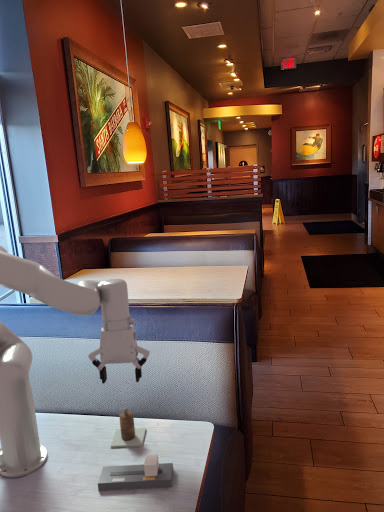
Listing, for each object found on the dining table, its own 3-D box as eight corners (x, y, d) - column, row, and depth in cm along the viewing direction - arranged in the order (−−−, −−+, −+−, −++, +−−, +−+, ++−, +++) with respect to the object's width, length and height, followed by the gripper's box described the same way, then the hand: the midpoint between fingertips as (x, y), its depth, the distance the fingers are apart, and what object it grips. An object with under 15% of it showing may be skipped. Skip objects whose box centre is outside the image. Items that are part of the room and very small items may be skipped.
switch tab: (145, 476, 99) (143, 465, 99) (147, 465, 103) (146, 454, 103) (157, 475, 99) (156, 464, 99) (158, 464, 103) (157, 454, 102)
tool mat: (110, 447, 115) (110, 446, 115) (116, 431, 123) (116, 429, 123) (142, 446, 115) (142, 444, 115) (145, 429, 123) (145, 427, 123)
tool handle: (123, 442, 116) (120, 413, 115) (120, 435, 120) (117, 407, 118) (137, 438, 118) (134, 409, 116) (133, 431, 121) (130, 403, 120)
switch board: (98, 490, 99) (97, 483, 99) (104, 473, 105) (103, 466, 104) (171, 486, 98) (171, 479, 98) (173, 469, 104) (172, 462, 104)
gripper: (148, 317, 117) (152, 373, 119) (89, 320, 117) (94, 376, 120) (145, 326, 109) (149, 385, 112) (82, 329, 110) (87, 388, 112)
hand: (121, 380), depth 116 cm, fingers open, 9 cm apart
